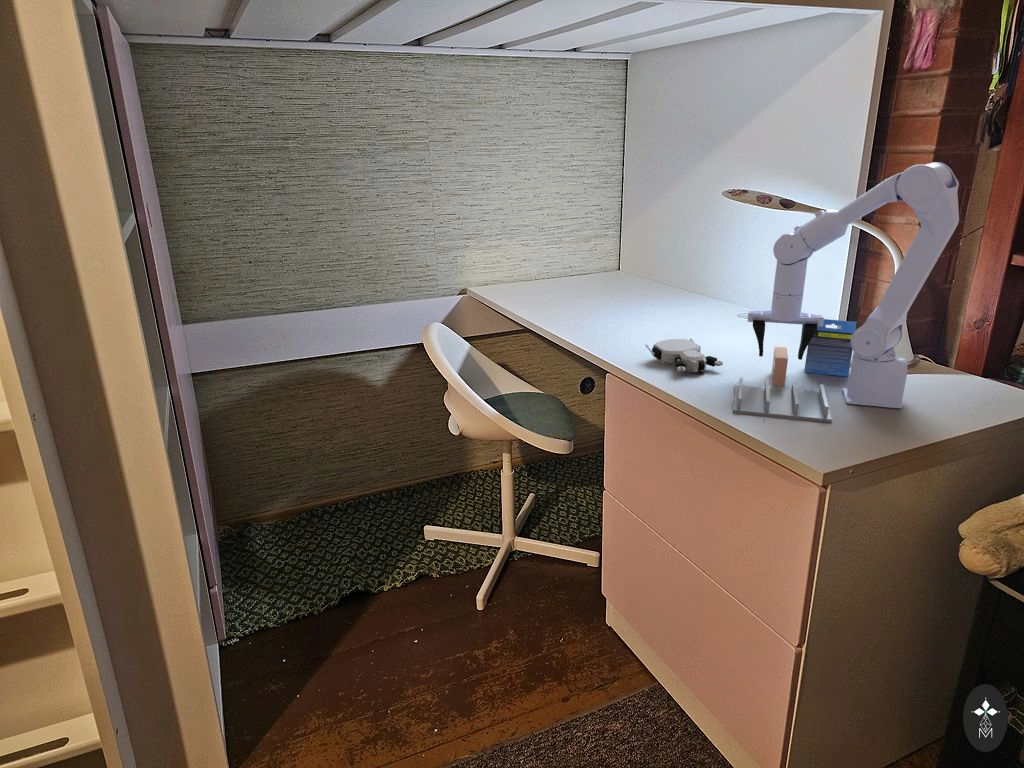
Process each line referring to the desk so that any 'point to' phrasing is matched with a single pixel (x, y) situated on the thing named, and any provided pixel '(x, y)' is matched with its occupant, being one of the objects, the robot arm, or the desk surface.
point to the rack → (781, 402)
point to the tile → (779, 366)
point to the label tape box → (831, 349)
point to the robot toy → (683, 355)
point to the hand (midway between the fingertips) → (780, 356)
